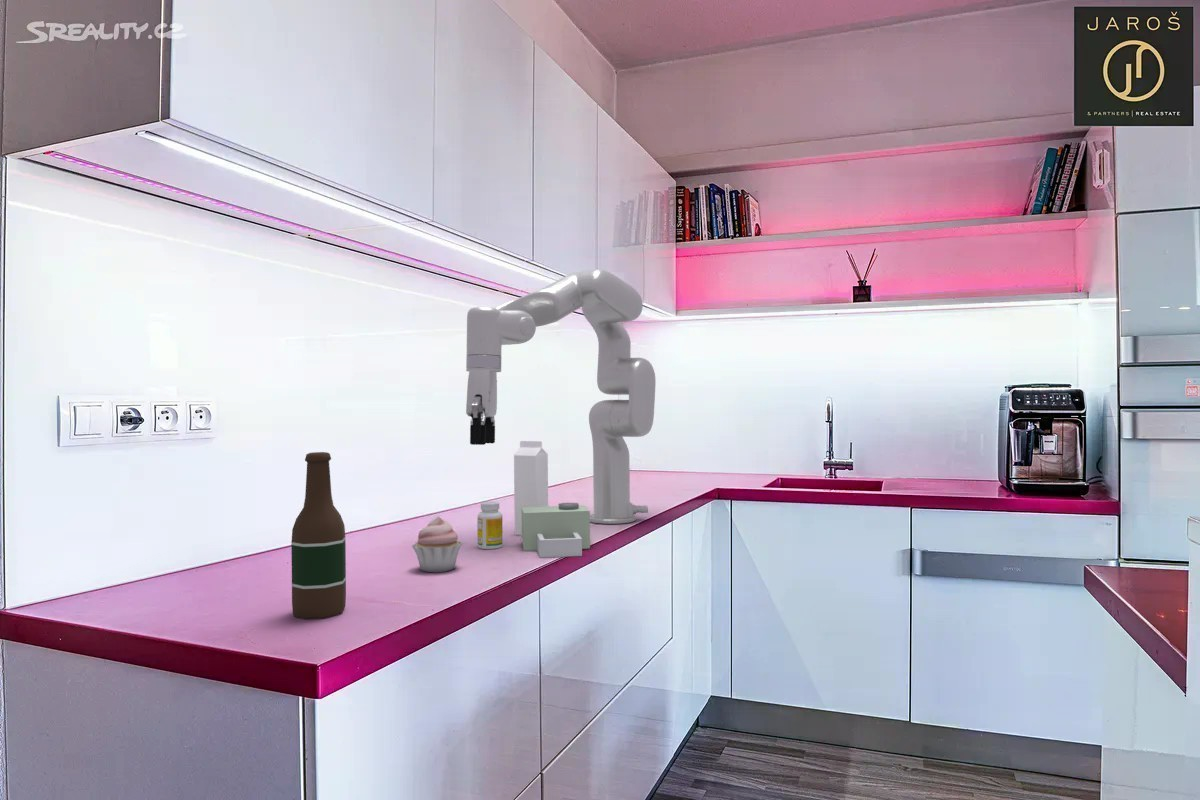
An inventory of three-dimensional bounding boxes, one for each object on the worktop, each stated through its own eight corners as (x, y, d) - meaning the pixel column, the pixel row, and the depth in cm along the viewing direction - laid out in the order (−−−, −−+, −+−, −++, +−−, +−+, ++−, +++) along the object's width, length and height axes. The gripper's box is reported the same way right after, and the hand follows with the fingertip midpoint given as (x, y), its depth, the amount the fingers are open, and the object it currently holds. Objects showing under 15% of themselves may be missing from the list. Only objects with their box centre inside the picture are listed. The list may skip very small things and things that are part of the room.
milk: (527, 531, 185) (526, 440, 185) (549, 532, 182) (548, 440, 183) (514, 535, 179) (513, 441, 180) (536, 536, 177) (535, 441, 177)
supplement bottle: (473, 548, 163) (472, 503, 163) (485, 544, 168) (484, 500, 168) (495, 550, 161) (495, 504, 161) (506, 545, 166) (506, 501, 166)
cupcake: (429, 577, 137) (428, 521, 137) (403, 569, 143) (402, 516, 143) (472, 569, 143) (472, 515, 143) (445, 561, 150) (445, 511, 150)
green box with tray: (584, 540, 171) (583, 500, 171) (595, 555, 155) (595, 511, 155) (521, 543, 169) (521, 502, 169) (526, 558, 152) (525, 513, 152)
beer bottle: (339, 603, 119) (338, 450, 120) (352, 614, 113) (351, 452, 113) (287, 610, 115) (285, 452, 115) (297, 623, 109) (295, 455, 109)
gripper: (475, 367, 174) (474, 442, 173) (456, 361, 156) (455, 445, 156) (508, 367, 173) (507, 442, 173) (493, 361, 156) (491, 445, 155)
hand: (482, 443), depth 164 cm, fingers open, 9 cm apart
